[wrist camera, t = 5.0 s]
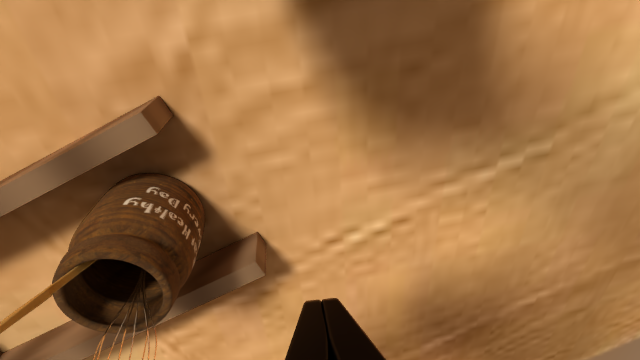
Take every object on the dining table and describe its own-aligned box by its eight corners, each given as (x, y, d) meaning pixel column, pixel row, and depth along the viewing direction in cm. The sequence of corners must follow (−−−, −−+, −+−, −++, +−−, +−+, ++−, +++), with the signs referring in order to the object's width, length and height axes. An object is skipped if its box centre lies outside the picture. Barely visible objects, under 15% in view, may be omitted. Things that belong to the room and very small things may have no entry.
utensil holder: (158, 265, 24) (69, 480, 13) (78, 201, 21) (-116, 409, 10) (227, 219, 23) (189, 412, 12) (153, 146, 20) (20, 314, 9)
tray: (159, 95, 19) (140, 112, 16) (266, 244, 24) (265, 275, 21) (-158, 266, 21) (-219, 305, 18) (3, 368, 26) (-26, 409, 24)
